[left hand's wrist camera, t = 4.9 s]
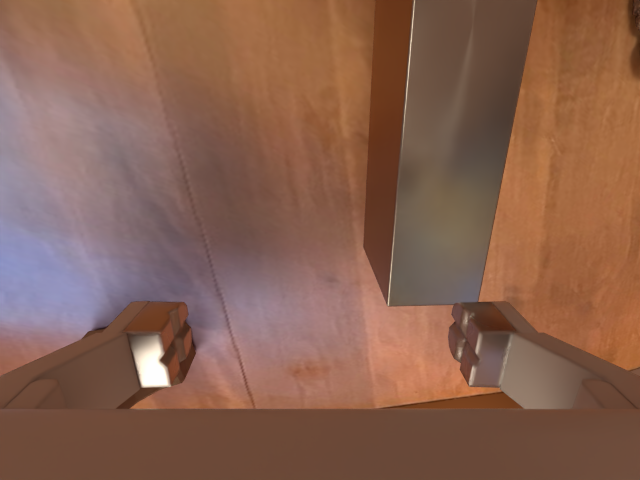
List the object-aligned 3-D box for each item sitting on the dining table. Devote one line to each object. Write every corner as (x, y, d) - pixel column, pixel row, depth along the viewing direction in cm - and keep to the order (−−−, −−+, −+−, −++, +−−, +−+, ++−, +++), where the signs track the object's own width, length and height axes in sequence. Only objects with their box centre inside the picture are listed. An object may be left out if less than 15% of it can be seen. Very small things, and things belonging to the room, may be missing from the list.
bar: (428, 246, 27) (478, 305, 19) (363, 247, 26) (387, 307, 19) (491, -258, 17) (650, -568, 9) (388, -262, 17) (460, -582, 9)
